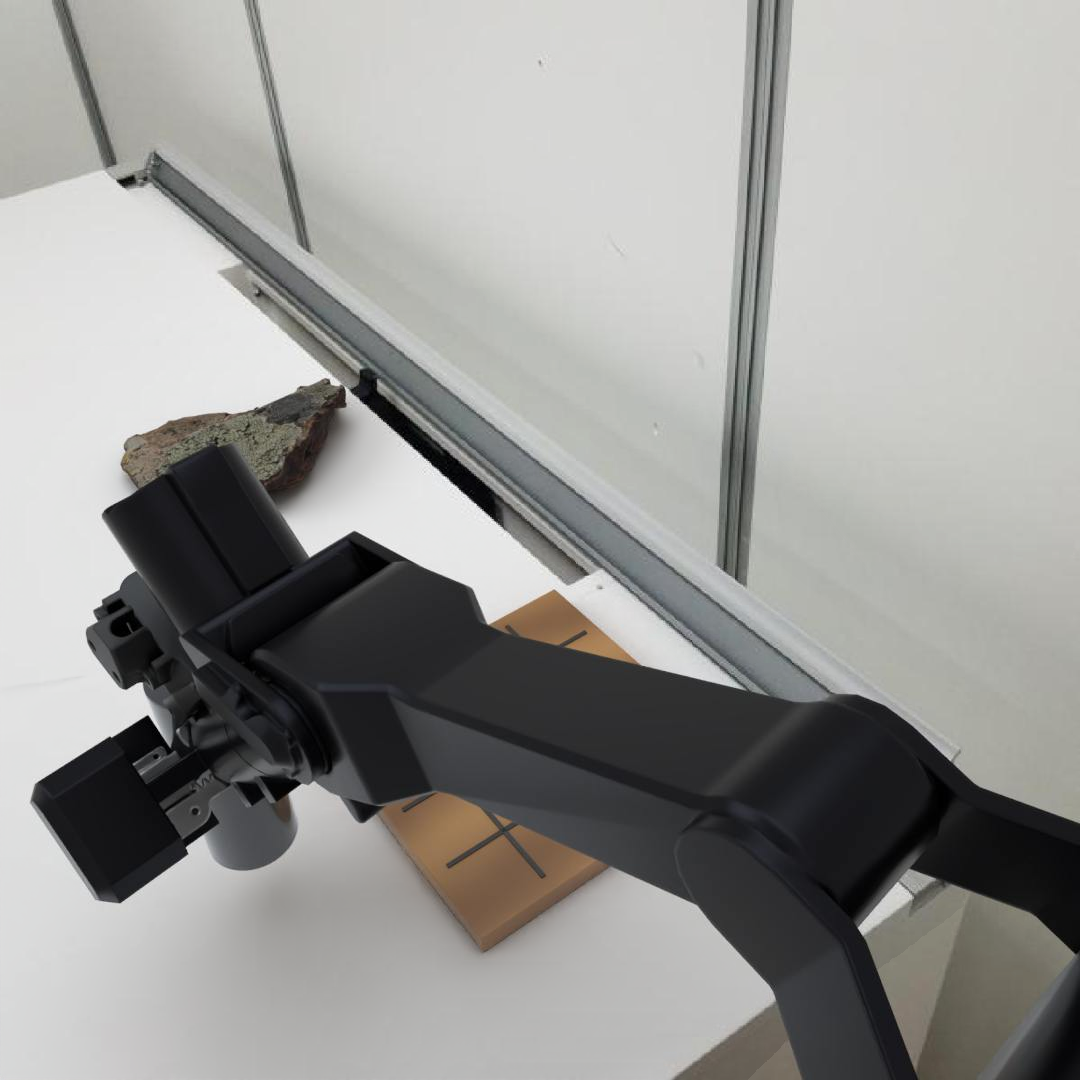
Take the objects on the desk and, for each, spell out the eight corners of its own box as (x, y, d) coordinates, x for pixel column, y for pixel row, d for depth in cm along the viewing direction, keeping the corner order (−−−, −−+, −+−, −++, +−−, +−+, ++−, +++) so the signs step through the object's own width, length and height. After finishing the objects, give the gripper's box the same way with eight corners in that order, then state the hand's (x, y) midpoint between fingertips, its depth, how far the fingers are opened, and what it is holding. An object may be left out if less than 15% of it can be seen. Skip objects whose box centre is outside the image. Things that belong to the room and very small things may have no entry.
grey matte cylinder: (299, 861, 62) (246, 700, 54) (205, 879, 62) (137, 718, 53) (297, 788, 66) (248, 627, 58) (209, 804, 66) (147, 643, 57)
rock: (110, 540, 93) (92, 491, 90) (133, 422, 106) (118, 376, 103) (357, 506, 95) (347, 457, 92) (349, 394, 108) (341, 348, 105)
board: (746, 773, 72) (747, 756, 71) (483, 953, 64) (481, 937, 63) (555, 603, 85) (554, 587, 84) (315, 734, 76) (310, 718, 75)
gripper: (365, 441, 51) (274, 528, 65) (-38, 666, 42) (-47, 713, 55) (499, 650, 52) (382, 693, 65) (131, 919, 42) (82, 904, 56)
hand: (211, 741), depth 60 cm, fingers closed on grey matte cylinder, 5 cm apart
